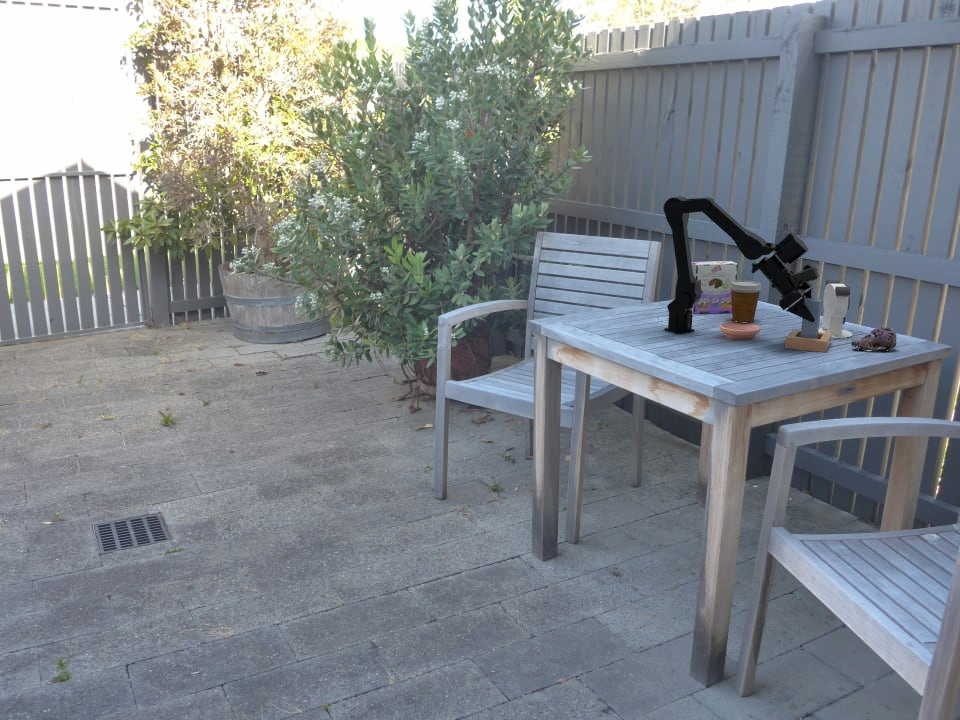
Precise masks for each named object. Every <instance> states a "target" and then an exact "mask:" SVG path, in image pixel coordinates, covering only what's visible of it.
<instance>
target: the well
mask: <svg viewBox="0 0 960 720" xmlns="http://www.w3.org/2000/svg"><path fill="white" fill-rule="evenodd" d="M800 336H801V329H791V331H790V332H789V333H788V334H787V335H786V336H785V344H784V345H785V346H784V348H785V349H791V350H800V351H809V352H818V353H827V351H828V349H829V348H830V346H831V344H832V339H833V338H832V333H823V332H818V339H813V338H804V337H800Z"/></svg>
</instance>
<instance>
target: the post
mask: <svg viewBox="0 0 960 720" xmlns="http://www.w3.org/2000/svg"><path fill="white" fill-rule="evenodd" d="M805 304H806V305H807V307H808V309H809V310H810V312H811V313H812V315H813V317H814V318H815V321H814V322H810V321H808V320H806V319H803V318H801V319H802V320H801V327H800V328H801V329H800V330H801V336H800V337H804V338H813V339H818V331H819V328H820V321H821V312H822V305H823V299H822V298H821V299H820V298H813V297H812V298H806V299H805Z"/></svg>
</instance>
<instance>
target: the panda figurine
mask: <svg viewBox="0 0 960 720" xmlns="http://www.w3.org/2000/svg"><path fill="white" fill-rule="evenodd" d="M824 286H825V287H824V293H823V299H822V305H823V306H822V307H823V317H822V323H821V327H819V331H818V332H823V333H832V339H837V338H838V339H839V338H840V339H848V338H847V337H849V338H851V337H850V336H852V337H853V332H852V331H851V332H850V331H848V330H845V329H843V326H844V325H845V323H846V318H847V317H846V314H847V312H848V311H849V310H850V302H851V301H850V295H851V287H850V286H846V285H845V284H844V283H840V280H826V281H825V285H824ZM840 339H839V340H840Z"/></svg>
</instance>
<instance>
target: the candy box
mask: <svg viewBox="0 0 960 720" xmlns="http://www.w3.org/2000/svg"><path fill="white" fill-rule="evenodd" d="M691 262H692V270H693V275H694V277H695V279H696V281H697V280H701V290H702V292H703V293H702V294H701V298H700V300H699V301H698V302H697V303H696V304H694V306H693V308H692V309H690V310H692V315H700V314H701V315H703V314H704V315H705V314H707V315H709V314H730V313H731V314H732V300H731V290H730V286H731V283H732V282H733V281H738V280H737V278H738V265H739V264H738V263H737V262H734V261H732V260H722V261H720V260H716V261H712V260H711V261H709V260H708V261H691Z"/></svg>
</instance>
